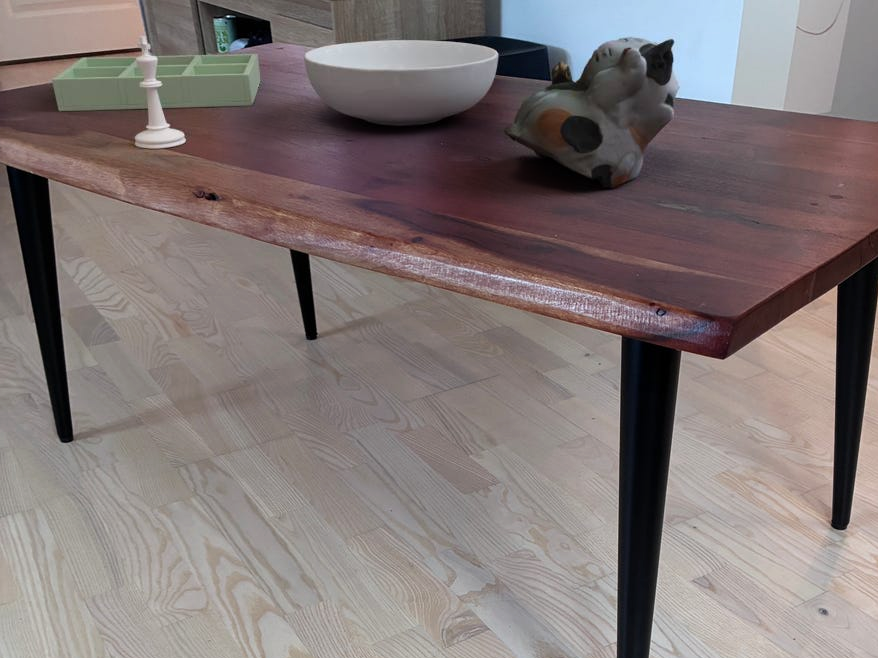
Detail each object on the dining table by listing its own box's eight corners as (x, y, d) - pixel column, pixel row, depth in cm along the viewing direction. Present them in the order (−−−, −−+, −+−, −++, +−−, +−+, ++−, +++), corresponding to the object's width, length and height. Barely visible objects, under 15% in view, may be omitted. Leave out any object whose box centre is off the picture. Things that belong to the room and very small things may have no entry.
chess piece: (171, 134, 96) (154, 31, 91) (195, 142, 93) (179, 36, 88) (126, 142, 93) (106, 36, 88) (149, 151, 90) (130, 41, 85)
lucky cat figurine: (526, 146, 91) (598, 10, 87) (631, 208, 89) (710, 72, 85) (481, 135, 77) (565, -28, 73) (604, 208, 75) (698, 46, 71)
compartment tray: (58, 111, 106) (51, 79, 104) (87, 86, 118) (81, 57, 117) (252, 105, 108) (248, 74, 107) (260, 82, 121) (257, 53, 119)
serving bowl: (534, 112, 105) (535, 48, 101) (416, 150, 90) (413, 76, 87) (394, 91, 116) (391, 32, 112) (268, 122, 101) (261, 55, 97)
